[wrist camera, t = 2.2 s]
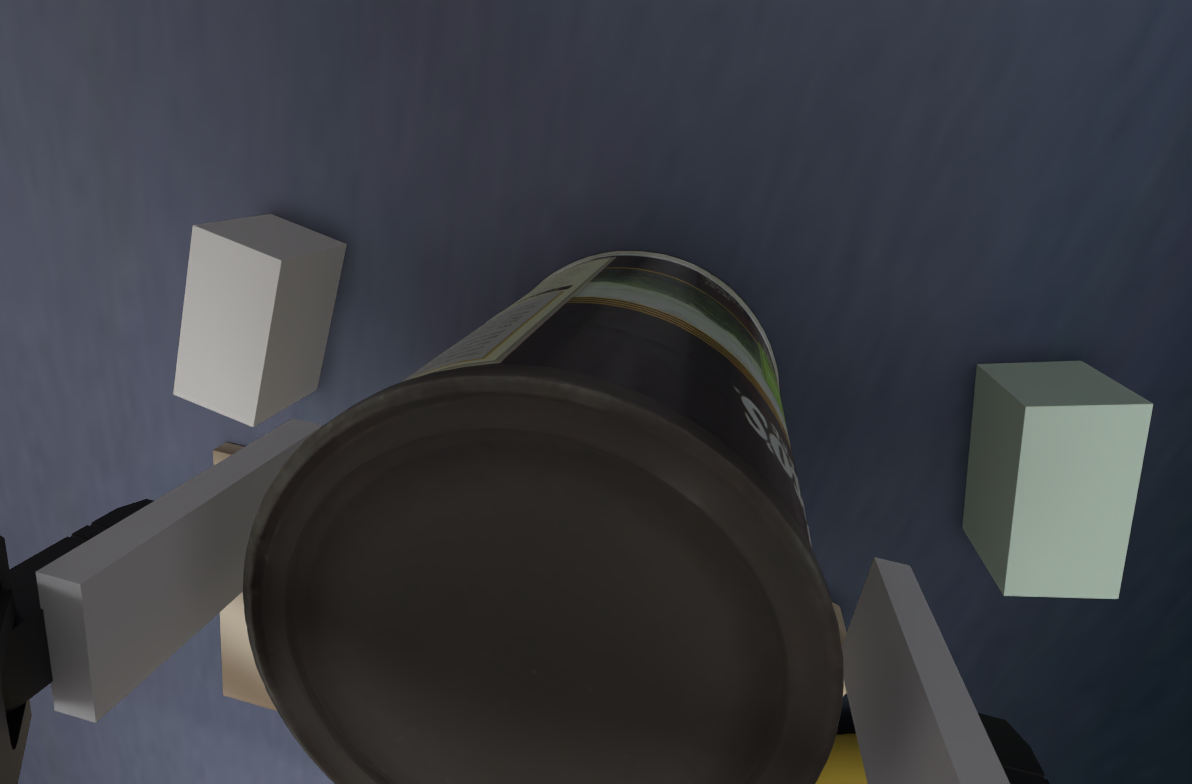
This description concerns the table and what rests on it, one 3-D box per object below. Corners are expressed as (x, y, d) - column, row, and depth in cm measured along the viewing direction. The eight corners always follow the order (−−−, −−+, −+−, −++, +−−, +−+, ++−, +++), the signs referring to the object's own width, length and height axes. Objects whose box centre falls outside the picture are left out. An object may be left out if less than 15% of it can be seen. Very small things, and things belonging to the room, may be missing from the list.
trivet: (226, 442, 28) (212, 450, 27) (527, 516, 27) (522, 526, 26) (234, 682, 33) (223, 695, 32) (491, 756, 31) (486, 771, 31)
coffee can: (778, 234, 22) (855, 364, 9) (780, 520, 25) (840, 927, 12) (472, 257, 24) (161, 389, 11) (511, 519, 27) (311, 865, 14)
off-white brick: (272, 213, 25) (193, 225, 21) (348, 243, 25) (281, 260, 21) (249, 360, 27) (173, 394, 23) (318, 388, 27) (253, 427, 23)
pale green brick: (975, 363, 22) (1025, 406, 18) (1079, 359, 21) (1153, 403, 18) (961, 526, 24) (1003, 595, 20) (1056, 527, 23) (1118, 598, 20)
